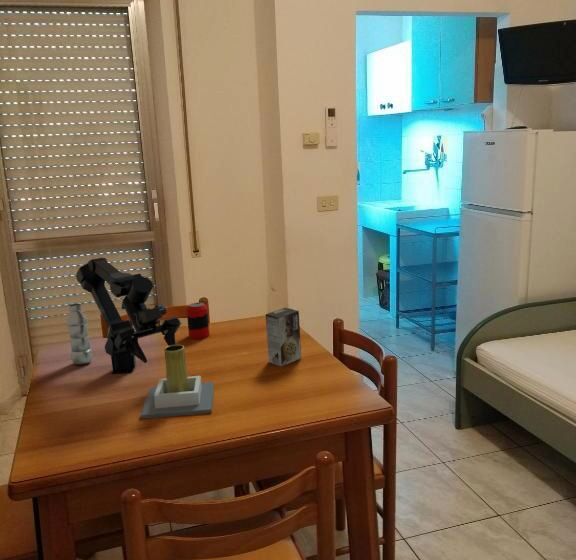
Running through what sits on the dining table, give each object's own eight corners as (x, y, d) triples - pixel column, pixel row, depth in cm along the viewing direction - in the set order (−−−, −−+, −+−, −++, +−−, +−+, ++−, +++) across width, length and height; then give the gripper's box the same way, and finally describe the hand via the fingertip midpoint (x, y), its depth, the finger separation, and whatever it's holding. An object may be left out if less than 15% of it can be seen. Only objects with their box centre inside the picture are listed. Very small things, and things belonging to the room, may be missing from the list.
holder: (140, 418, 142) (139, 402, 141) (151, 390, 159) (149, 375, 158) (211, 412, 143) (210, 396, 142) (214, 384, 161) (212, 370, 160)
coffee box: (287, 354, 183) (285, 307, 179) (302, 358, 178) (299, 310, 175) (267, 362, 176) (264, 313, 173) (281, 367, 172) (279, 317, 168)
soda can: (210, 332, 210) (207, 301, 207) (208, 338, 202) (206, 306, 200) (190, 333, 209) (187, 302, 207) (187, 339, 202) (185, 308, 199)
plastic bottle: (94, 364, 182) (86, 305, 177) (72, 368, 179) (63, 308, 175) (93, 358, 188) (85, 301, 183) (71, 361, 185) (63, 304, 181)
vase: (194, 396, 151) (190, 346, 148) (176, 404, 147) (171, 353, 144) (181, 390, 155) (176, 342, 152) (163, 398, 151) (157, 348, 148)
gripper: (114, 303, 149) (138, 352, 143) (174, 290, 161) (199, 334, 156) (104, 325, 156) (127, 372, 151) (163, 311, 169) (186, 354, 163)
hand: (161, 357), depth 155 cm, fingers open, 9 cm apart
